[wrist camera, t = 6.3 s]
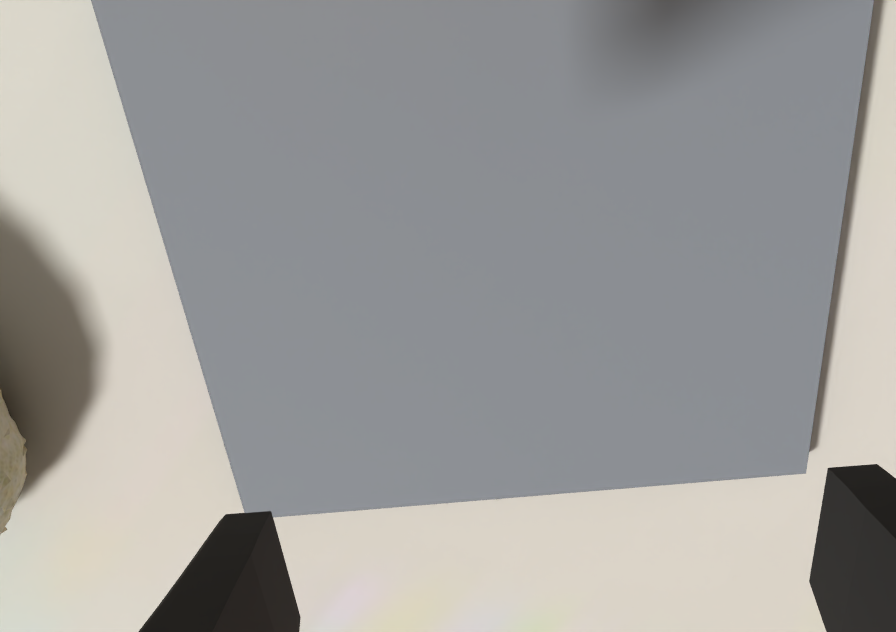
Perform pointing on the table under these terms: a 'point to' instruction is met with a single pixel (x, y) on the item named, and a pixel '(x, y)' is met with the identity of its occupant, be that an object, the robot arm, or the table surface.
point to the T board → (497, 234)
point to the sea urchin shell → (10, 464)
